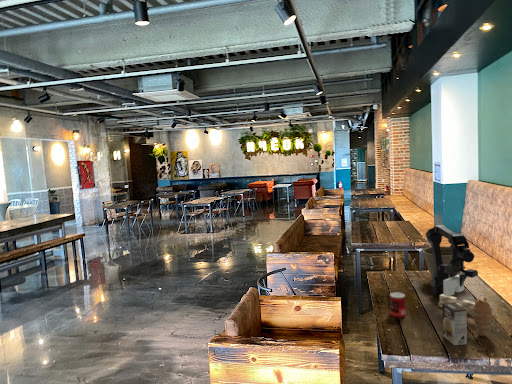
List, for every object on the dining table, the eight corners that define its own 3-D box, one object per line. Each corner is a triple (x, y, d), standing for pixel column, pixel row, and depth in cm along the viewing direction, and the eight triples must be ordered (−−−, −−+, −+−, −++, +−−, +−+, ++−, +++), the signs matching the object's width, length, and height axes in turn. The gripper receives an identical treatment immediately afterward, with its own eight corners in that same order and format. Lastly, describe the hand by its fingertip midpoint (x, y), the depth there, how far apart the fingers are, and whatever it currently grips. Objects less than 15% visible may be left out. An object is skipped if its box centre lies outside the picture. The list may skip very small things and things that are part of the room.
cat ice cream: (486, 341, 173) (485, 302, 171) (468, 335, 180) (468, 298, 178) (496, 336, 178) (496, 298, 176) (479, 330, 184) (478, 293, 183)
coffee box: (442, 336, 181) (441, 302, 179) (455, 335, 181) (454, 301, 180) (453, 345, 171) (453, 310, 170) (467, 344, 172) (467, 309, 171)
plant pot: (419, 286, 248) (418, 253, 246) (427, 275, 268) (426, 244, 267) (463, 292, 234) (462, 256, 232) (468, 280, 254) (468, 247, 252)
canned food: (405, 312, 210) (404, 292, 209) (406, 318, 203) (405, 297, 202) (390, 311, 213) (389, 291, 212) (390, 317, 205) (389, 296, 204)
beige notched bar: (438, 306, 215) (438, 295, 215) (444, 303, 218) (443, 293, 218) (475, 317, 199) (475, 305, 198) (481, 314, 202) (481, 302, 201)
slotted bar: (449, 296, 202) (448, 281, 201) (443, 295, 205) (443, 280, 204) (463, 290, 210) (463, 275, 209) (458, 288, 212) (458, 274, 211)
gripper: (432, 257, 211) (433, 284, 213) (466, 264, 196) (467, 293, 197) (444, 253, 217) (444, 280, 219) (478, 259, 201) (478, 288, 203)
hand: (458, 285), depth 209 cm, fingers closed on slotted bar, 3 cm apart
